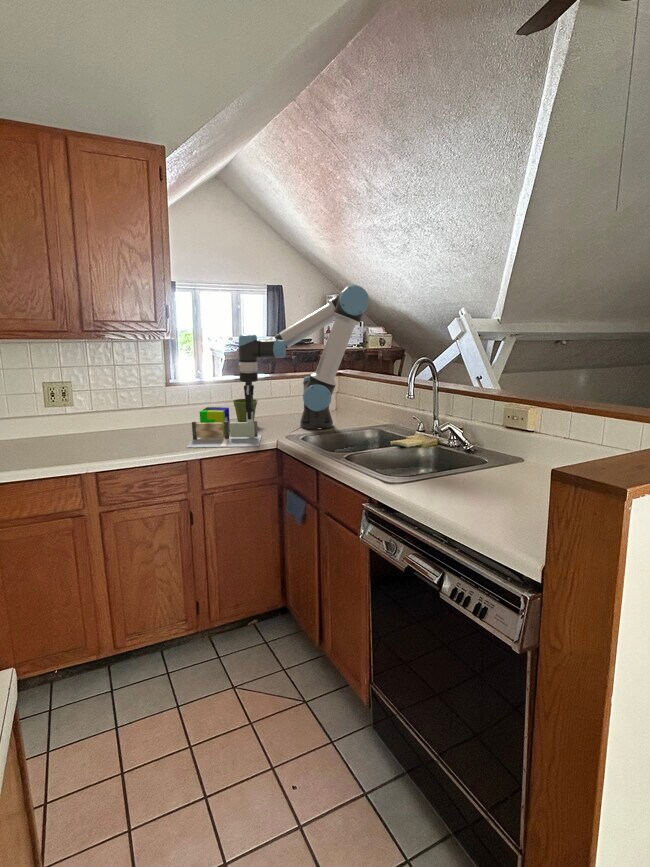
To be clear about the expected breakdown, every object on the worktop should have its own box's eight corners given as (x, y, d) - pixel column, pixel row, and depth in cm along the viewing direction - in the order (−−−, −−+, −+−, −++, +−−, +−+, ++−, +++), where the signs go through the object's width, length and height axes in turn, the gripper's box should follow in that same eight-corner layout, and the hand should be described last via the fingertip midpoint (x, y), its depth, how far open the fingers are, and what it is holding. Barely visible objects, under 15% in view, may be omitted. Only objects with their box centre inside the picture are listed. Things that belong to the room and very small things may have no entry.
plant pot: (257, 426, 230) (256, 402, 227) (231, 426, 230) (230, 402, 227) (260, 421, 241) (259, 398, 238) (235, 421, 241) (234, 398, 239)
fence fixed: (229, 438, 209) (228, 421, 207) (229, 439, 207) (228, 422, 205) (193, 439, 208) (192, 421, 206) (192, 440, 207) (191, 422, 205)
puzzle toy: (229, 429, 226) (228, 407, 223) (223, 434, 216) (222, 412, 214) (208, 428, 227) (207, 407, 224) (200, 434, 217) (199, 411, 215)
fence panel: (257, 436, 209) (257, 421, 208) (257, 436, 208) (257, 421, 206) (230, 436, 209) (230, 421, 207) (230, 437, 207) (229, 422, 206)
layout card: (261, 435, 214) (261, 434, 214) (258, 446, 197) (258, 445, 197) (195, 436, 213) (195, 435, 213) (186, 447, 195) (186, 447, 195)
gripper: (241, 369, 217) (242, 422, 223) (237, 373, 204) (239, 429, 210) (258, 369, 217) (259, 422, 223) (256, 373, 205) (257, 429, 210)
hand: (249, 426), depth 216 cm, fingers closed
